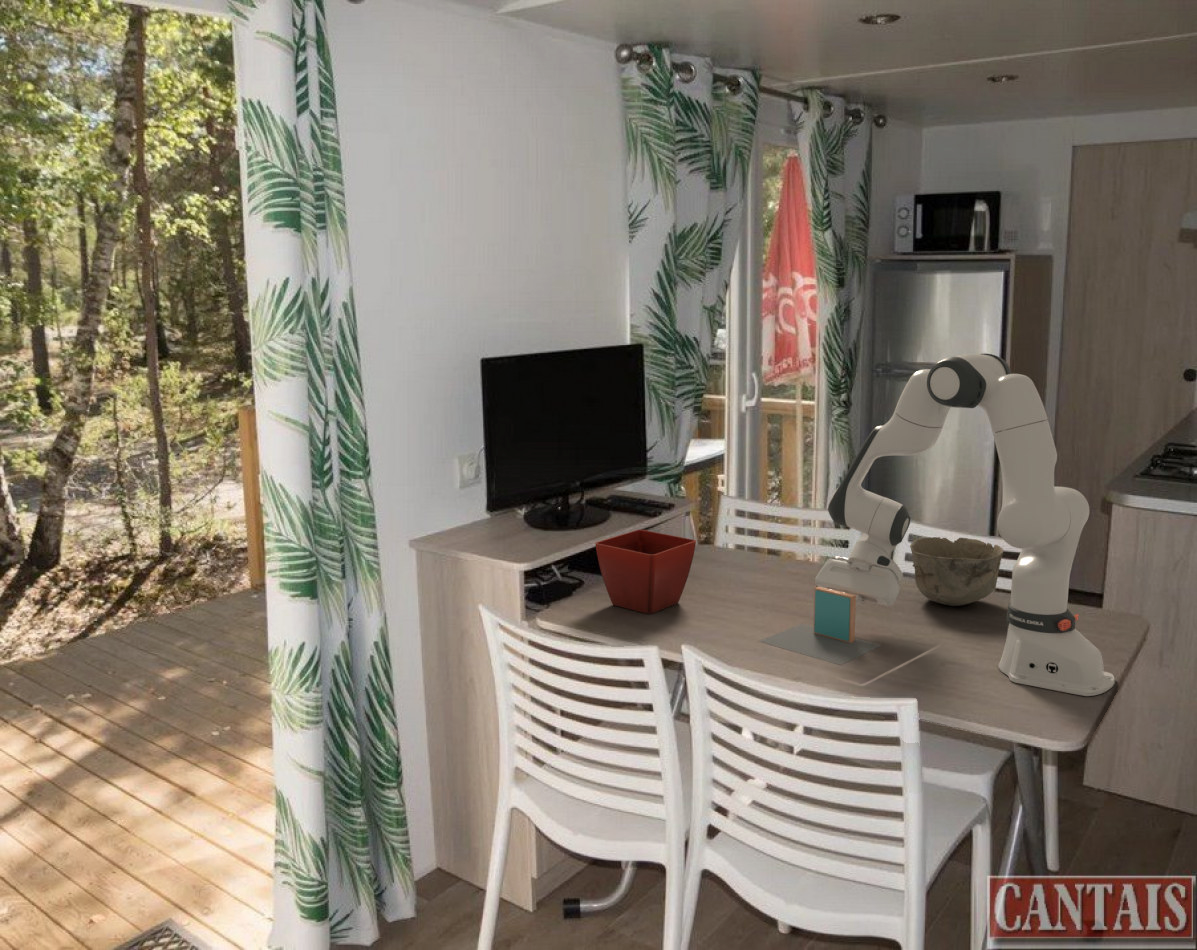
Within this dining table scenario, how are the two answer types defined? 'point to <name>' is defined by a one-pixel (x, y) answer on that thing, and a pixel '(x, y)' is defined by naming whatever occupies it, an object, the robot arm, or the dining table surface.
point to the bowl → (955, 569)
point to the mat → (819, 645)
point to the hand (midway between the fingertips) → (843, 611)
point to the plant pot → (645, 569)
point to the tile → (834, 614)
